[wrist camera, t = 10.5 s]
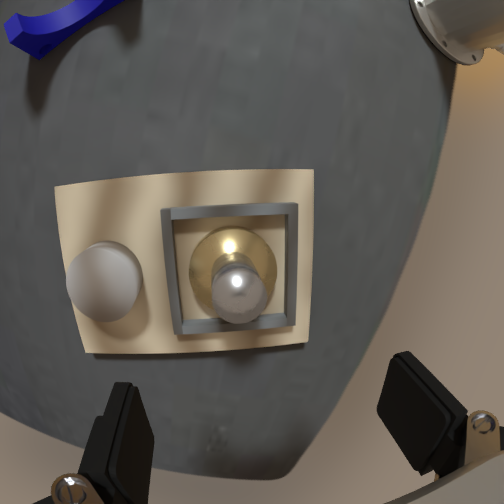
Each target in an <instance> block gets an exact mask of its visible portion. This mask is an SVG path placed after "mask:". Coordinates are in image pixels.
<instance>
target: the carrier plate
mask: <svg viewBox="0 0 504 504" xmlns="http://www.w3.org/2000/svg"><path fill="white" fill-rule="evenodd" d="M55 199H56V210H57V219H58V228H59V235H60V242H61V249H62V255H63V261H64V267H65V272H66V286H67V291H68V294H69V296H70V298H71V300H72V305H73V309H74V313H75V317H76V321H77V324H78V328H79V332H80V335H81V339H82V342H83V345H84V349H85V352H86V353H113V354H155V353H188V352H208V351H223V350H236V349H248V348H259V347H269V346H278V345H287V344H295V343H303V342H308V335H309V320H310V303H311V284H312V260H313V221H314V170H311V169H256V170H222V171H200V172H184V173H169V174H157V175H145V176H135V177H125V178H116V179H107V180H99V181H91V182H84V183H77V184H70V185H63V186H57V187H55ZM225 226H239V227H244V228H247V229H250V230H252V231H254V232H255V233H257V234H258V235H259V236H261V237H262V238H263V239H264V240H265V242H266V243H267V244H268V245H269V247H270V248H271V250H272V252H273V254H274V256H275V259H276V263H277V279H276V283H275V285H274V288H273V290H272V292H271V293H270V295H269V296H268V297H267V303H266V306H265V308H264V310H263V312H262V313H261V314H260V315H259V316H258V317H257V318H255V319H254V320H252V321H250V322H247V323H241V324H236V323H230V322H227V321H225V320H224V319H222V318H221V317H220V316H219V315H218V314H217V313H216V311H215V310H213V309H211V308H209V307H207V306H206V305H205V304H203V303H202V302H201V301H200V300H199V299H198V298H197V296H196V295H195V293H194V292H193V289H192V287H191V284H190V281H189V264H190V259H191V256H192V253H193V250H194V248H195V247H196V245H197V243H198V242H199V241H200V240H201V239H202V238H203V237H204V236H205V235H207V234H208V233H209V232H211V231H213V230H215V229H218V228H221V227H225Z"/></svg>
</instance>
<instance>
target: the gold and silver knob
mask: <svg viewBox="0 0 504 504" xmlns="http://www.w3.org/2000/svg"><path fill="white" fill-rule="evenodd" d="M276 279H277V263H276V259H275V256H274V254H273V252H272V250H271V248H270V247H269V245H268V244H267V243H266V242H265V240H264V239H263V238H262V237H261V236H259V235H258V234H257V233H255V232H254V231H252V230H250V229H247V228H244V227H239V226H225V227H221V228H218V229H215V230H213V231H211V232H209V233H208V234H207V235H205V236H204V237H203V238H202V239H201V240H200V241H199V242H198V243H197V245H196V247H195V248H194V250H193V253H192V256H191V259H190V264H189V281H190V284H191V287H192V289H193V292H194V293H195V295H196V296H197V298H198V299H199V300H200V301H201V302H202V303H203V304H205V305H206V306H207V307H209V308H211V309H213V310H215V311H216V313H217V314H218V315H219V316H220V317H221V318H222V319H224V320H225V321H227V322H230V323H236V324H241V323H247V322H250V321H252V320H254V319H255V318H257V317H258V316H259V315H260V314H261V313H262V312H263V310H264V308H265V306H266V303H267V297H268V296H269V295H270V293H271V292H272V290H273V288H274V285H275V283H276Z"/></svg>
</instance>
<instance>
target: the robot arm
mask: <svg viewBox="0 0 504 504" xmlns="http://www.w3.org/2000/svg"><path fill="white" fill-rule="evenodd" d="M410 4H411V8H412V10H413V13H414V16H415V17H416V19H417V21H418V23H419V25H420V27H421V28H422V30H423V31H424V33H425V34H426V35H427V37H428V38H429V39H430V41H431V42H432V43H433V44H434V45H435V46H436V47H437V48H438V49H439V50H440V51H441V52H442V53H443V54H444V55H446V56H447V57H448V58H450V59H451V60H453V61H455V62H456V63H459V64H462V65H472V64H476V63H478V62H479V61H480V60H481V59H482V57H483V54H484V49H486V48H491V49H494V48H495V49H496V50H497V51H499V52H500V53H502V54H504V0H410ZM467 412H468V411H467V409H466V408H465V407H464V406H463V405H462V404H461V403H460V402H459V401H458V400H457V399H456V398H455V397H454V396H453V395H452V394H451V393H450V392H449V391H448V390H447V389H446V388H445V387H444V386H443V385H442V383H441V382H439V380H437V378H436V377H435V376H434V375H433V374H432V373H431V372H430V371H429V370H428V369H427V368H426V367H425V366H424V365H423V364H422V363H421V362H420V361H419V360H418V359H417V358H416V357H415V356H414V355H413V354H412V353H411V352H409V351H405V352H401V353H397V354H395V355H394V356H393V358H392V359H391V360H390V363H389V366H388V370H387V374H386V378H385V381H384V385H383V389H382V393H381V395H380V399H379V402H378V405H377V413H378V415H379V417H380V418H381V420H382V421H383V423H384V425H385V426H386V428H387V429H388V431H389V432H390V434H391V435H392V437H393V438H394V439H395V441H396V443H397V444H398V446H399V447H400V449H401V451H402V452H403V454H404V455H405V457H406V458H407V460H408V461H409V463H410V464H411V466H412V467H413V469H414V470H416V471H419V473H420V475H421V476H422V475H424V474H426V473H428V472H430V471H432V470H434V471H435V473H436V474H435V479H434V482H432V483H430V484H428V485H426V486H424V487H422V488H420V489H418V490H416V491H414V492H411V493H409V494H407V495H404V496H402V497H400V498H397V499H395V500H392V501H390V502H387V503H384V504H504V427H501V426H499V423H498V420H497V418H496V417H495V416H494V415H493V414H492V413H489V412H487V411H476V412H473V413H472V414H470V416H469V417H468V416H467ZM153 449H154V435H153V432H152V429H151V427H150V424H149V421H148V418H147V415H146V412H145V409H144V406H143V403H142V400H141V397H140V393H139V390H138V388H137V387H133V385H132V383H130V382H115V384H114V386H113V389H112V392H111V394H110V397H109V400H108V403H107V406H106V409H105V412H104V415H103V416H97V417H96V419H95V421H94V424H93V427H92V430H91V433H90V436H89V439H88V442H87V445H86V448H85V451H84V454H83V457H82V461H81V464H80V467H79V470H78V473H77V474H75V473H68V474H64V475H61V476H59V477H58V478H57V479H56V480H55V481H54V482H53V484H52V486H51V496H48V497H46V498H44V499H42V500H40V501H38V502H35V503H33V504H148V495H149V484H150V475H151V466H152V458H153Z"/></svg>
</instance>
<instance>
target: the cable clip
mask: <svg viewBox="0 0 504 504" xmlns="http://www.w3.org/2000/svg"><path fill="white" fill-rule="evenodd" d="M122 1H124V0H75V1H74V2H72V3H71V4H69V5H67V6H65V7H63V8H61V9H59V10H57V11H55V12H52V13H49V14H46V15H42V16H36V17H27V16H22V15H19V14H18V13H15V14H14V15H13V16H12V17H11V18H10V19H9V20H8V21H7V22H6V23H5V24H4V27H5V30H6V33H7V36H8V39H9V42H10V43H11V44H13V45H14V46H16V47H18V48H19V49H21V50H23V51H25V52H26V53H28V54H30V55H31V56H33V57H35V58H37V59H38V60H40V59H41V58H43V57H44V56H45V55H46V54H47V53H49V52H50V51H51V50H52V49H53V48H55V47H56V46H57V45H58V44H60V43H61V42H62V41H64V40H65V39H66V38H68V37H69V36H70V35H72V34H73V33H74V32H76V31H77V30H78V29H80V28H81V27H83V26H84V25H86V24H87V23H89V22H90V21H92V20H93V19H95V18H96V17H98V16H99V15H101V14H102V13H104V12H105V11H107V10H109V9H110V8H112V7H114V6H115V5H117V4H119V3H121V2H122Z"/></svg>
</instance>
